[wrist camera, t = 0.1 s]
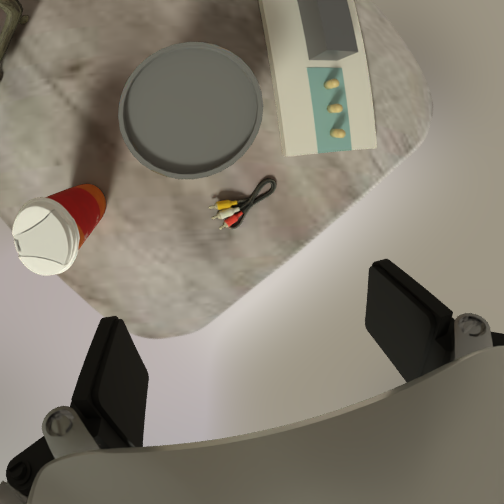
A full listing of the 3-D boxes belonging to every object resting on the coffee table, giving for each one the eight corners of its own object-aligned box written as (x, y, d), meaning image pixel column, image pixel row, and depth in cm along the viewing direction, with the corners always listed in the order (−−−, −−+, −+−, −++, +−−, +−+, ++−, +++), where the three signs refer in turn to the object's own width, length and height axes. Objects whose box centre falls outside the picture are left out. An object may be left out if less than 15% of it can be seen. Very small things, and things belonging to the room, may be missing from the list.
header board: (257, -1, 29) (265, -16, 24) (347, 4, 30) (363, -7, 26) (282, 155, 39) (293, 159, 34) (369, 147, 40) (388, 150, 36)
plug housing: (295, -6, 28) (310, -23, 22) (323, -4, 28) (341, -19, 23) (308, 60, 32) (327, 50, 27) (337, 60, 33) (358, 52, 27)
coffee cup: (69, 235, 38) (21, 283, 24) (58, 181, 34) (0, 209, 21) (119, 227, 39) (84, 276, 25) (110, 170, 35) (64, 193, 22)
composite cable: (270, 173, 40) (275, 176, 38) (283, 204, 42) (288, 208, 40) (206, 204, 40) (206, 208, 38) (220, 233, 42) (222, 239, 40)
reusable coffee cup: (131, 100, 32) (93, 83, 19) (218, 58, 32) (230, 18, 19) (171, 180, 38) (155, 208, 24) (256, 140, 37) (289, 144, 24)
